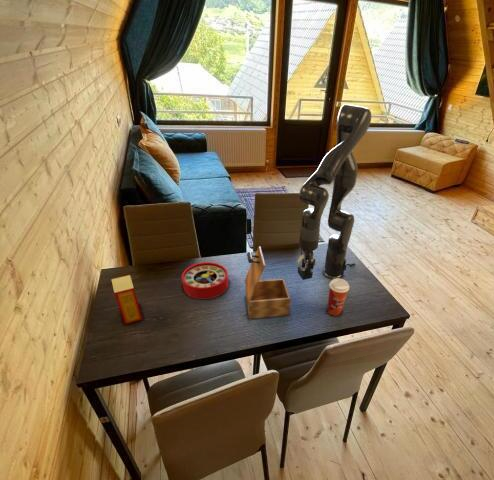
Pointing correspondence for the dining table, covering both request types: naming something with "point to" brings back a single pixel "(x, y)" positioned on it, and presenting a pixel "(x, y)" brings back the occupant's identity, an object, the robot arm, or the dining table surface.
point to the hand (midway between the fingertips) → (305, 271)
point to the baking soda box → (126, 299)
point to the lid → (254, 271)
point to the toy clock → (205, 280)
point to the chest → (269, 299)
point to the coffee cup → (337, 296)
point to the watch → (303, 269)
